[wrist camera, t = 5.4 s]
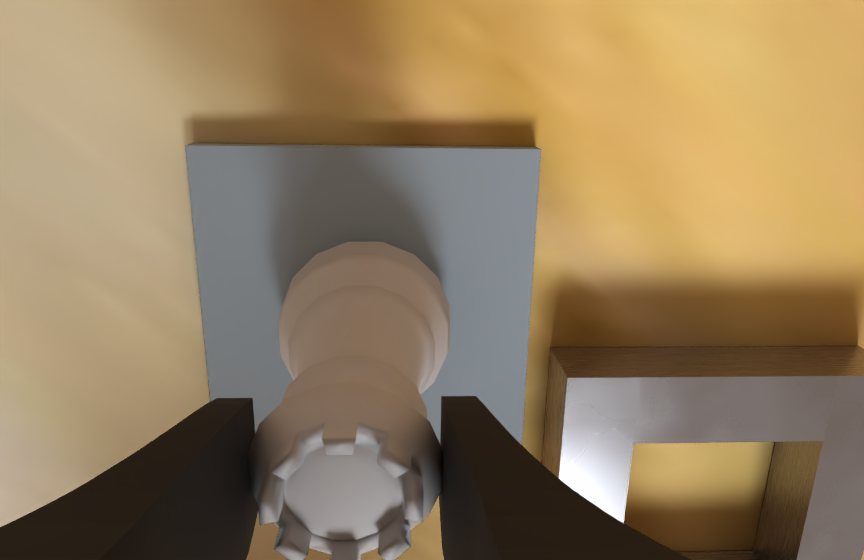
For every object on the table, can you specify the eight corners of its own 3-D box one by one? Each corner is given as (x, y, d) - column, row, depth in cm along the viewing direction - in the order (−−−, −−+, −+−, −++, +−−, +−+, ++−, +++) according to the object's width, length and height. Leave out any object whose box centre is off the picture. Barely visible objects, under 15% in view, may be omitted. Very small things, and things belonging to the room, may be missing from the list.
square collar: (800, 597, 22) (838, 646, 20) (530, 603, 22) (543, 654, 20) (858, 346, 19) (909, 375, 17) (550, 347, 19) (567, 377, 17)
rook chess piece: (480, 336, 18) (541, 538, 10) (347, 416, 18) (309, 666, 11) (389, 202, 16) (380, 318, 9) (249, 294, 17) (126, 477, 9)
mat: (517, 443, 20) (521, 454, 19) (221, 447, 19) (215, 458, 19) (536, 147, 17) (541, 149, 16) (192, 143, 17) (185, 145, 16)
